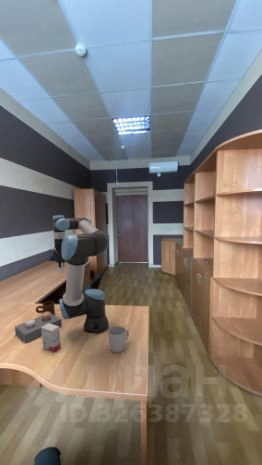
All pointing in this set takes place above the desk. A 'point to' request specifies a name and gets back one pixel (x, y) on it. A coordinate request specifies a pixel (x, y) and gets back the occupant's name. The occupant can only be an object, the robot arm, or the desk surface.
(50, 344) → the ink box
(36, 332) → the panel
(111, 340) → the mug
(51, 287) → the desk surface
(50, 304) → the mug
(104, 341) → the desk surface
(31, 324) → the grey plug
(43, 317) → the terracotta plug
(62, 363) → the desk surface
